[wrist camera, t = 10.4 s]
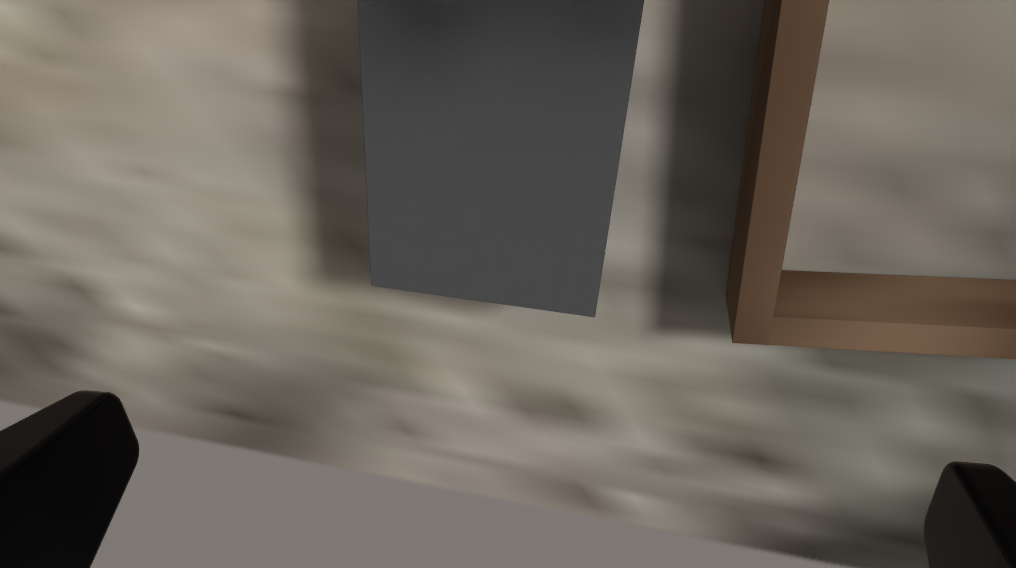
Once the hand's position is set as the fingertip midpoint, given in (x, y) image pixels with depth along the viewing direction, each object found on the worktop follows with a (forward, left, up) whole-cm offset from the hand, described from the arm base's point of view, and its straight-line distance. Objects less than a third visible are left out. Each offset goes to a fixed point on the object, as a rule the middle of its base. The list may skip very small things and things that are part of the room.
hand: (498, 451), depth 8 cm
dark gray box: (+1, -1, -11) cm, 11 cm away
